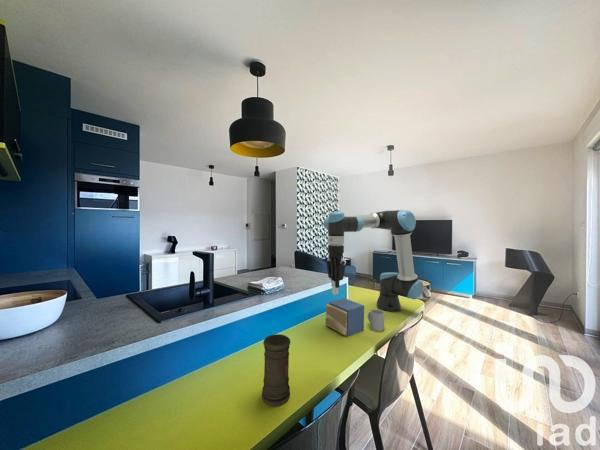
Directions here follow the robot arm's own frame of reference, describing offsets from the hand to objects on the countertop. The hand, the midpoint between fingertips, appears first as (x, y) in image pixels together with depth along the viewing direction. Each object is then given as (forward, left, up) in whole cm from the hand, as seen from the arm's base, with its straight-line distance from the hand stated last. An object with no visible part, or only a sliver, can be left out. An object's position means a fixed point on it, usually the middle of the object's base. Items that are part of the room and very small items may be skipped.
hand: (335, 293), depth 116 cm
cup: (-27, +3, -22) cm, 34 cm away
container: (+42, +17, -22) cm, 51 cm away
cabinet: (-13, -5, -21) cm, 25 cm away
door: (-6, -5, -20) cm, 22 cm away
